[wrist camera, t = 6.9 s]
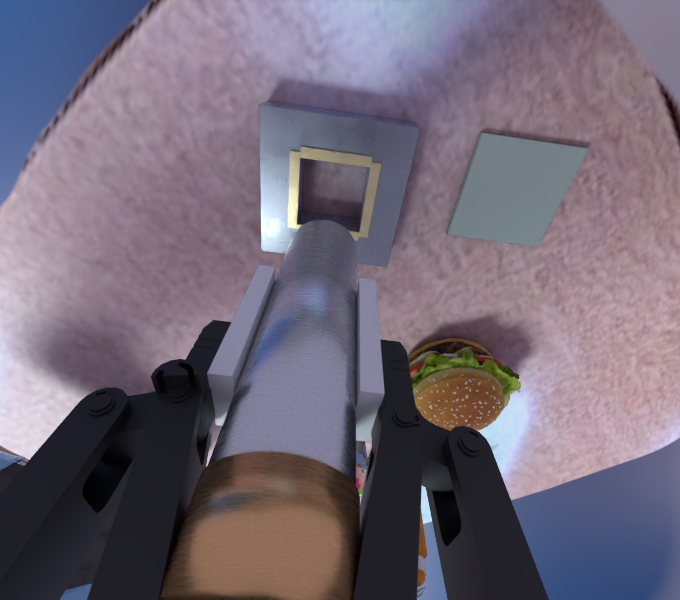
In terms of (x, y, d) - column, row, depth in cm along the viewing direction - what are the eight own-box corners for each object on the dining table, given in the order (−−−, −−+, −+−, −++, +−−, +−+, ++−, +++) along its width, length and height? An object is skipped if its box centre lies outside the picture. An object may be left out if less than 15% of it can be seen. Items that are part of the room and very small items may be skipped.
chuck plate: (268, 236, 34) (261, 251, 31) (267, 100, 27) (258, 105, 24) (384, 252, 34) (387, 267, 32) (414, 122, 27) (420, 128, 24)
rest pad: (446, 232, 33) (447, 234, 32) (480, 131, 27) (482, 133, 27) (534, 244, 33) (537, 247, 32) (585, 147, 28) (589, 149, 27)
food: (447, 414, 50) (461, 466, 43) (375, 374, 45) (378, 427, 39) (527, 364, 43) (557, 417, 36) (451, 311, 38) (470, 362, 32)
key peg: (286, 276, 21) (171, 632, 8) (288, 213, 18) (126, 579, 5) (352, 285, 21) (345, 647, 8) (363, 223, 19) (378, 602, 6)
